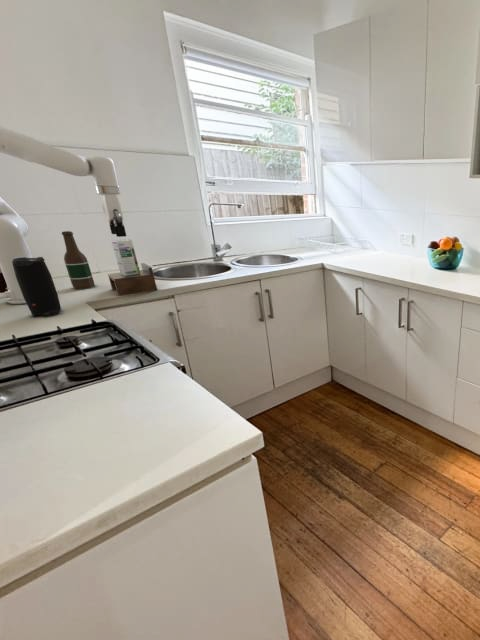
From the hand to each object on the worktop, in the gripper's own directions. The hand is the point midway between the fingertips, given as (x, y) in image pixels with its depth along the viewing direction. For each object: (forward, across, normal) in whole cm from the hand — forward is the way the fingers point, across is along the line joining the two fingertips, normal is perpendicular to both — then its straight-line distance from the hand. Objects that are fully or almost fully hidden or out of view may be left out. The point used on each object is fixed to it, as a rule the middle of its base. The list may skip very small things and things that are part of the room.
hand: (119, 235), depth 158 cm
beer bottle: (+24, -19, -14) cm, 33 cm away
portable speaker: (+24, +19, -29) cm, 42 cm away
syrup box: (+16, 0, +1) cm, 17 cm away
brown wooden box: (+23, 0, +1) cm, 23 cm away
